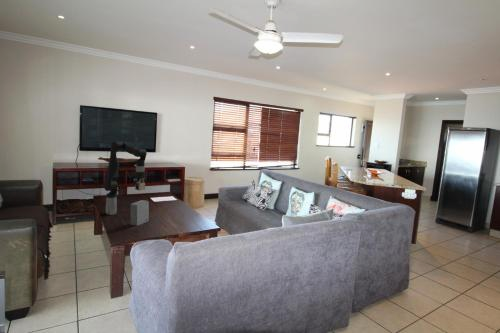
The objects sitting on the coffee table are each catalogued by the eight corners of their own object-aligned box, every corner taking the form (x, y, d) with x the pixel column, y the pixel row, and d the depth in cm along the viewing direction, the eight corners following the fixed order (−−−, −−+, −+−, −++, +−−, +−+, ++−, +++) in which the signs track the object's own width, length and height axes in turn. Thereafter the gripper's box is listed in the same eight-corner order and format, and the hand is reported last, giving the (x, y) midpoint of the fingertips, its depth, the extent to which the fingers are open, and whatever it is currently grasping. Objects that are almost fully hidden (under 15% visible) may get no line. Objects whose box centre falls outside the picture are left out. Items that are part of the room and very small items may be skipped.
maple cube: (135, 189, 262) (135, 183, 261) (140, 188, 268) (140, 182, 267) (140, 190, 260) (140, 184, 259) (145, 189, 265) (145, 183, 264)
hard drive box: (142, 219, 277) (142, 199, 274) (148, 221, 274) (149, 201, 271) (130, 224, 263) (130, 203, 260) (136, 226, 260) (137, 204, 257)
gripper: (143, 169, 269) (143, 186, 272) (130, 171, 256) (130, 189, 259) (149, 170, 266) (148, 188, 268) (137, 172, 253) (136, 190, 256)
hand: (140, 188), depth 264 cm, fingers closed on maple cube, 6 cm apart
